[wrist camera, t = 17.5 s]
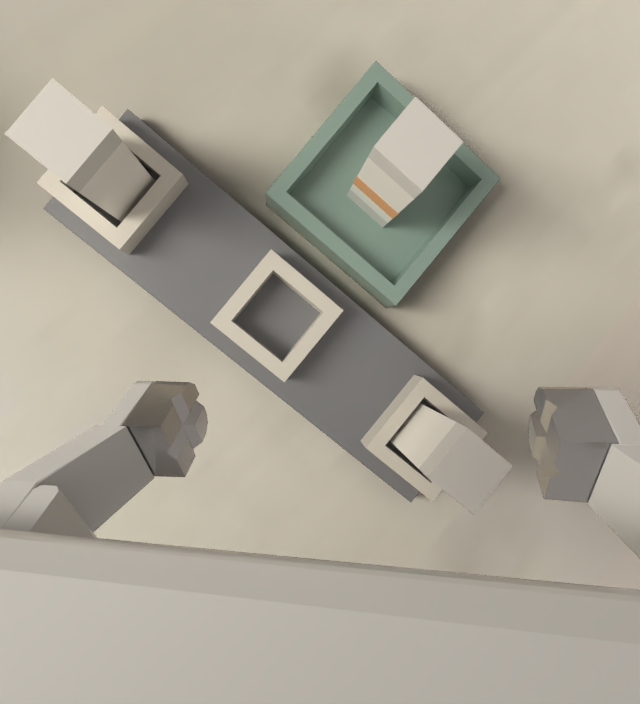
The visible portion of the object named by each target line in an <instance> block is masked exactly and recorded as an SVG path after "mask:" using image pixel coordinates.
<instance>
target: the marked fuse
mask: <svg viewBox="0 0 640 704" xmlns="http://www.w3.org/2000/svg"><path fill="white" fill-rule="evenodd" d="M462 143H463V141H462V140H461V139H460V138H459V137H458V136H457V135H456V134H455V133H454V132H453V131H452V130H451V129H450V128H449V127H448V126H446V125H445V124H444V123H443V122H442V121H441V120H440V119H439V118H438V117H437V116H436V115H435V114H434V113H433V112H432V111H431V110H430V109H429V108H427V107H426V106H425V105H424V104H423V103H422V102H421V101H420V100H419V99H418V98H417V97H416V96H415V97H414V99H413V100H412V101H411V102H410V103H409V105H408V106H407V107H406V108H405V109H404V111H403V112H402V113H401V114H400V115H399V117H398V118H397V119H396V120H395V121H394V123H393V124H392V125H391V126H390V127H389V129H388V130H387V131H386V132H385V133H384V135H383V136H382V137H381V138H380V139H379V141H378V142H377V143H376V144H375V146H374V147H373V149H372V150H371V152H370V154H369V156H368V158H367V159H366V161H365V163H364V165H363V167H362V168H361V170H360V172H359V174H358V175H357V177H356V179H355V180H354V182H353V185H352V187H351V188H350V190H349V192H348V194H347V196H348V197H349V198H350V199H351V200H352V201H353V202H354V203H356V204H357V205H358V206H359V207H360V208H361V209H362V210H363V211H365V212H366V213H367V214H368V215H369V216H370V217H371V218H372V219H374V220H375V221H376V222H377V223H378V224H379V225H380V226H381V227H384V226H385V225H386V224H387V223H388V222H389V221H391V220H392V219H393V218H394V217H395V216H397V215H398V214H399V212H400V211H402V210H403V209H404V208H405V207H406V206H407V205H408V204H409V203H410V202H411V201H412V200H414V199H415V198H416V197H417V196H418V195H419V194H420V193H421V192H422V191H423V190H424V189H425V188H426V187H427V185H428V184H429V183H430V182H431V181H432V179H433V178H434V177H435V176H436V174H437V173H438V172H439V171H440V170H441V168H442V167H443V166H444V165H445V164H446V162H447V161H448V160H449V159H450V158H451V156H452V155H453V154H454V153H455V151H456V150H457V149H458V148H459V147H460V145H461V144H462Z"/></svg>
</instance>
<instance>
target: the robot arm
mask: <svg viewBox="0 0 640 704" xmlns="http://www.w3.org/2000/svg"><path fill="white" fill-rule="evenodd" d="M198 395H199V393H198V390H197V388H196V386H195V384H193V383H190V382H164V381H155V382H153V381H138V382H135V383H133V384H132V386H131V387H130V388H129V390H128V391H127V392H126V394H125V395H124V396H123V398H122V399H121V400H120V402H119V403H118V404H117V406H116V407H115V408H114V410H113V411H112V412H111V414H110V415H109V416H108V418H107V419H106V420H105V422H104V423H103V424H102V425H96V426H94V427H93V428H91V429H89V430H88V431H86V432H84V433H83V434H81V435H79V436H78V437H76V438H74V439H73V440H71V441H69V442H68V443H66V444H64V445H63V446H61V447H59V448H57V449H56V450H54V451H52V452H51V453H49V454H47V455H46V456H44V457H42V458H41V459H39V460H37V461H36V462H34V463H32V464H31V465H29V466H27V467H26V468H24V469H22V470H21V471H19V472H17V473H16V474H14V475H12V476H11V477H9V478H7V479H6V480H4V481H3V482H2V483H1V484H0V704H640V590H635V589H624V588H614V587H603V586H593V585H582V584H572V583H561V582H551V581H541V580H530V579H520V578H509V577H499V576H488V575H477V574H467V573H456V572H446V571H435V570H424V569H414V568H403V567H393V566H382V565H371V564H361V563H350V562H340V561H329V560H319V559H308V558H298V557H288V556H277V555H267V554H256V553H246V552H235V551H225V550H215V549H204V548H194V547H183V546H173V545H162V544H152V543H141V542H131V541H120V540H110V539H99V538H97V537H96V535H95V534H94V533H93V532H94V531H95V530H97V529H98V528H99V527H100V526H101V525H102V524H103V523H104V522H105V521H107V520H108V519H109V518H110V517H111V516H112V515H113V514H114V513H116V512H117V511H118V510H119V509H120V508H121V507H122V506H123V505H125V504H126V503H127V502H128V501H129V500H130V499H131V498H132V497H134V496H135V495H136V494H137V493H138V492H139V491H140V490H141V489H142V488H144V487H145V486H146V485H147V484H148V483H149V482H150V481H151V480H153V479H154V476H166V477H185V476H186V474H187V472H188V470H189V468H190V466H191V464H192V462H193V460H194V458H195V453H194V450H193V449H194V448H195V447H196V446H198V445H199V444H200V443H202V441H203V439H204V437H205V435H206V430H207V424H208V420H207V413H206V411H205V408H204V406H203V405H201V404H200V403H199V402H198V401H196V399H197V397H198ZM534 403H535V406H536V409H537V410H536V411H535V412H534V413H532V414H531V415H530V421H529V433H528V438H529V445H530V450H531V454H532V457H534V458H535V459H536V460H537V461H538V462H539V465H538V469H537V476H538V480H539V483H540V487H541V490H542V494H543V498H544V499H552V500H564V501H575V502H587V503H588V505H589V506H590V507H591V509H592V510H593V511H594V512H595V513H596V514H597V515H598V516H599V517H600V518H601V519H602V520H603V521H604V522H605V523H606V524H607V525H608V526H609V527H610V528H611V529H612V530H613V531H614V532H615V533H616V534H617V536H618V537H619V538H620V539H621V540H622V541H623V542H624V543H625V544H626V545H627V546H628V547H629V548H630V549H631V550H632V551H633V552H634V553H635V554H636V555H637V556H638V557H639V558H640V424H639V422H638V421H637V419H636V417H635V415H634V414H633V412H632V410H631V408H630V406H629V405H628V403H627V401H626V399H625V398H624V396H623V394H622V392H621V390H620V389H618V388H617V387H589V388H588V387H538V389H537V391H536V393H535V397H534Z"/></svg>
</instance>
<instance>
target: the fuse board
mask: <svg viewBox="0 0 640 704" xmlns="http://www.w3.org/2000/svg"><path fill="white" fill-rule="evenodd" d="M96 115H97V116H98V117H99V118H100V119H102V120H103V121H104V122H105V123H106V124H108V125H109V126H110V127H111V128H112V129H113V130H114V131H115V132H116V134H117V135H118V136H119V137H120V139H121V140H122V141H123V142H124V143H125V145H126V146H127V147H128V148H129V150H130V151H131V152H132V153H133V155H134V156H135V157H136V158H137V159H138V161H139V162H140V163H141V164H142V166H143V167H144V168H145V169H146V171H147V172H148V173H149V174H150V176H151V177H152V178H153V179H154V180H155V183H154V184H153V186H152V187H151V188H150V189H149V190H148V192H147V193H146V194H145V195H144V196H143V198H142V199H141V200H140V201H139V202H138V203H137V205H136V206H135V207H134V208H133V209H132V211H131V212H130V213H129V214H128V215H127V216H126V218H125V219H124V220H123V221H122V222H121V221H119V220H118V219H116V218H115V217H113V216H112V215H110V214H109V213H108V212H106V211H105V210H103V209H102V208H100V207H99V206H97V205H96V204H95V203H93V202H92V201H90V200H89V199H87V198H86V197H84V196H83V195H82V194H80V193H79V192H77V191H76V190H74V189H73V188H71V187H70V186H69V185H67V184H66V183H64V182H63V181H62V180H61V179H60V178H58V177H57V176H56V175H55V174H53V173H52V172H51V171H50V170H47V171H46V172H45V173H44V175H43V176H42V177H41V178H40V179H39V181H38V182H37V184H39V185H40V186H41V187H42V188H44V189H45V190H46V191H47V192H49V193H50V194H51V195H52V196H54V197H53V198H52V199H51V200H50V201H49V203H48V204H47V205H46V206H45V207H44V208H43V209H44V210H46V211H47V212H48V213H49V214H51V215H52V216H53V217H54V218H56V219H57V220H58V221H59V222H61V223H62V224H63V225H64V226H66V227H67V228H68V229H69V230H71V231H72V232H73V233H74V234H76V235H77V236H78V237H79V238H81V239H82V240H83V241H84V242H86V243H87V244H88V245H89V246H91V247H92V248H93V249H94V250H96V251H97V252H98V253H99V254H101V255H102V256H103V257H104V258H106V259H107V260H108V261H109V262H111V263H112V264H113V265H114V266H116V267H117V268H118V269H119V270H121V271H122V272H123V273H124V274H126V275H127V276H128V277H129V278H131V279H132V280H133V281H134V282H136V283H137V284H138V285H139V286H141V287H142V288H143V289H144V290H146V291H147V292H148V293H149V294H151V295H152V296H153V297H154V298H156V299H157V300H158V301H159V302H161V303H162V304H163V305H164V306H166V307H167V308H168V309H169V310H171V311H172V312H173V313H174V314H176V315H177V316H178V317H179V318H181V319H182V320H183V321H184V322H186V323H187V324H188V325H189V326H191V327H192V328H193V329H194V330H196V331H197V332H198V333H199V334H201V335H202V336H203V337H204V338H206V339H207V340H208V341H209V342H211V343H212V344H213V345H215V346H216V347H217V348H218V349H220V350H221V351H222V352H223V353H225V354H226V355H227V356H228V357H230V358H231V359H232V360H233V361H235V362H236V363H237V364H238V365H240V366H241V367H242V368H243V369H245V370H246V371H247V372H248V373H250V374H251V375H252V376H253V377H255V378H256V379H257V380H258V381H260V382H261V383H262V384H263V385H265V386H266V387H267V388H268V389H270V390H271V391H272V392H273V393H275V394H276V395H277V396H278V397H280V398H281V399H282V400H283V401H285V402H286V403H287V404H288V405H290V406H291V407H292V408H293V409H295V410H296V411H297V412H298V413H300V414H301V415H302V416H303V417H305V418H306V419H307V420H308V421H310V422H311V423H312V424H313V425H315V426H316V427H317V428H318V429H320V430H321V431H322V432H323V433H325V434H326V435H327V436H328V437H330V438H331V439H332V440H333V441H335V442H336V443H337V444H338V445H340V446H341V447H342V448H343V449H345V450H346V451H347V452H348V453H350V454H351V455H352V456H353V457H355V458H356V459H357V460H358V461H360V462H361V463H362V464H363V465H365V466H366V467H367V468H368V469H370V470H371V471H372V472H373V473H375V474H376V475H377V476H378V477H380V478H381V479H382V480H383V481H385V482H386V483H387V484H388V485H390V486H391V487H392V488H393V489H395V490H396V491H397V492H398V493H400V494H401V495H402V496H403V497H405V498H406V499H407V500H408V501H410V502H412V501H413V499H414V498H415V497H416V496H417V494H418V493H419V492H421V493H422V494H423V495H425V496H426V497H427V498H428V499H430V500H431V501H432V502H433V501H434V500H435V499H436V497H437V496H438V495H439V494H440V492H441V491H442V489H441V488H440V487H439V486H437V485H436V484H435V483H434V482H432V481H431V480H430V479H429V478H427V477H426V476H425V475H424V474H423V473H422V472H421V471H420V470H419V469H418V468H417V467H416V466H415V465H414V464H413V463H412V462H411V461H410V460H409V459H408V458H407V457H406V456H405V455H404V454H403V453H402V452H401V451H400V450H399V449H398V448H397V447H396V446H395V445H394V444H393V443H392V442H391V441H390V439H391V438H392V436H393V435H394V434H395V433H396V432H397V430H398V429H399V428H400V427H401V425H402V424H403V423H404V422H405V420H406V419H407V418H408V417H409V416H410V414H411V413H412V412H413V411H414V409H415V408H416V407H417V406H418V404H419V403H421V404H423V405H425V406H427V407H429V408H430V409H432V410H434V411H436V412H438V413H440V414H442V415H444V416H446V417H448V418H450V419H452V420H454V421H456V422H457V423H459V424H461V425H463V426H465V427H467V428H468V429H470V430H471V431H472V432H473V433H474V434H476V435H477V436H478V437H479V438H480V439H482V440H483V439H484V438H485V436H486V435H487V434H488V432H487V431H485V430H484V429H483V428H482V427H481V426H480V425H478V424H477V423H476V421H477V420H478V419H479V418H480V416H481V415H482V414H483V413H484V412H483V411H481V410H480V409H479V408H478V407H477V406H475V405H474V404H473V403H472V402H471V401H470V400H468V399H467V398H466V397H465V396H464V395H463V394H461V393H460V392H459V391H458V390H457V389H456V388H454V387H453V386H452V385H451V384H450V383H449V382H447V381H446V380H445V379H444V378H443V377H441V376H440V375H439V374H438V373H437V372H436V371H434V370H433V369H432V368H431V367H430V366H429V365H427V364H426V363H425V362H424V361H423V360H422V359H420V358H419V357H418V356H417V355H416V354H415V353H413V352H412V351H411V350H410V349H409V348H407V347H406V346H405V345H404V344H403V343H402V342H400V341H399V340H398V339H397V338H396V337H395V336H393V335H392V334H391V333H390V332H389V331H388V330H386V329H385V328H384V327H383V326H382V325H381V324H379V323H378V322H377V321H376V320H375V319H373V318H372V317H371V316H370V315H369V314H368V313H366V312H365V311H364V310H363V309H362V308H361V307H359V306H358V305H357V304H356V303H355V302H354V301H352V300H351V299H350V298H349V297H348V296H347V295H345V294H344V293H343V292H342V291H341V290H339V289H338V288H337V287H336V286H335V285H334V284H332V283H331V282H330V281H329V280H328V279H327V278H325V277H324V276H323V275H322V274H321V273H320V272H318V271H317V270H316V269H315V268H314V267H313V266H311V265H310V264H309V263H308V262H307V261H305V260H304V259H303V258H302V257H301V256H300V255H298V254H297V253H296V252H295V251H294V250H293V249H291V248H290V247H289V246H288V245H287V244H286V243H284V242H283V241H282V240H281V239H280V238H279V237H277V236H276V235H275V234H274V233H273V232H271V231H270V230H269V229H268V228H267V227H266V226H264V225H263V224H262V223H261V222H260V221H259V220H257V219H256V218H255V217H254V216H253V215H252V214H250V213H249V212H248V211H247V210H246V209H244V208H243V207H242V206H241V205H240V204H239V203H237V202H236V201H235V200H234V199H233V198H232V197H230V196H229V195H228V194H227V193H226V192H225V191H223V190H222V189H221V188H220V187H219V186H218V185H216V184H215V183H214V182H213V181H212V180H210V179H209V178H208V177H207V176H206V175H205V174H203V173H202V172H201V171H200V170H199V169H198V168H196V167H195V166H194V165H193V164H192V163H191V162H189V161H188V160H187V159H186V158H185V157H184V156H182V155H181V154H180V153H179V152H178V151H176V150H175V149H174V148H173V147H172V146H171V145H169V144H168V143H167V142H166V141H165V140H164V139H162V138H161V137H160V136H159V135H158V134H157V133H155V132H154V131H153V130H152V129H151V128H150V127H148V126H147V125H146V124H145V123H144V122H142V121H141V120H140V119H139V118H138V117H137V116H135V115H134V114H133V113H132V112H131V111H130V110H128V109H127V111H126V112H125V113H124V114H123V115H122V116H121V118H120V119H119V120H118V119H117V118H116V117H115V116H113V115H112V114H111V113H110V112H109V111H108V110H106V109H105V108H104V107H103V106H101V108H100V109H99V110H98V111H97V112H96Z"/></svg>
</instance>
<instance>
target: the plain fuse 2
mask: <svg viewBox="0 0 640 704" xmlns="http://www.w3.org/2000/svg"><path fill="white" fill-rule="evenodd" d="M390 441H391V442H392V443H393V444H394V445H395V446H396V447H397V448H398V449H399V450H400V451H401V452H402V453H403V454H404V455H405V456H406V457H407V458H408V459H409V460H410V461H411V462H412V463H413V464H414V465H415V466H416V467H417V468H418V469H419V470H420V471H421V472H422V473H423V474H424V475H425V476H426V477H427V478H429V479H430V480H431V481H432V482H434V483H435V484H436V485H437V486H439V487H440V488H441V489H442V490H443V491H445V492H446V493H447V494H448V495H450V496H451V497H452V498H453V499H455V500H456V501H457V502H458V503H459V504H461V505H462V506H463V507H464V508H466V509H467V510H468V511H469V512H471V513H472V514H473V515H474V514H475V513H476V512H477V511H478V509H479V508H480V507H481V506H482V504H483V503H484V502H485V501H486V499H487V498H488V497H489V496H490V494H491V493H492V492H493V491H494V489H495V488H496V487H497V486H498V484H499V483H500V482H501V481H502V479H503V478H504V477H505V476H506V474H507V473H508V472H509V471H510V469H511V468H512V467H513V466H512V465H511V464H510V463H509V462H508V461H506V460H505V459H504V458H503V457H502V456H501V455H499V454H498V453H497V452H496V451H495V450H493V449H492V448H491V447H490V446H489V445H487V444H486V443H485V442H484V441H483V440H482V439H480V438H479V437H478V436H477V435H476V434H474V433H473V432H472V431H471V430H470V429H468V428H467V427H465V426H463V425H461V424H459V423H457V422H456V421H454V420H452V419H450V418H448V417H446V416H444V415H442V414H440V413H438V412H436V411H434V410H432V409H430V408H429V407H427V406H425V405H423V404H421V403H419V404H418V406H417V407H416V408H415V409H414V411H413V412H412V413H411V414H410V416H409V417H408V418H407V419H406V420H405V422H404V423H403V424H402V425H401V427H400V428H399V429H398V430H397V432H396V433H395V434H394V435H393V436H392V438H391V439H390Z"/></svg>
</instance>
